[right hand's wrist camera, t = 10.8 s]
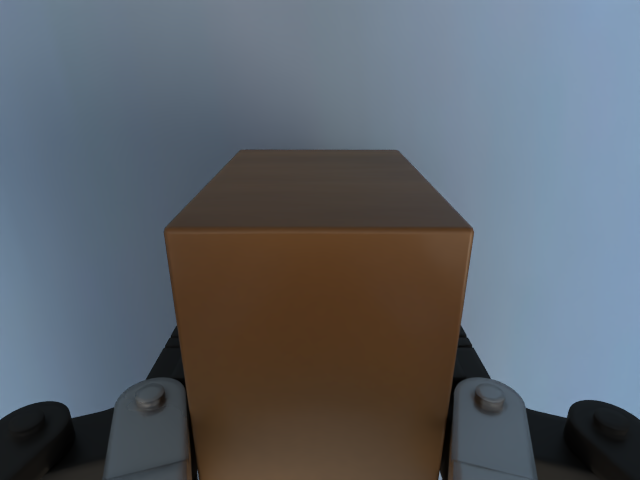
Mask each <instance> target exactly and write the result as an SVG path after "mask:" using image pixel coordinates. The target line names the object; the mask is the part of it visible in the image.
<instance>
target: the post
mask: <svg viewBox="0 0 640 480" xmlns="http://www.w3.org/2000/svg"><path fill="white" fill-rule="evenodd" d="M473 236H474V231H473V228H472V227H471V226H470V225H469V224H468V223H467V222H466V221H465V219H464V218H463V217H462V216H461V215H460V214H459V213H458V212H457V211H456V210H455V209H454V208H453V207H452V206H451V205H450V204H449V203H448V202H447V201H446V200H445V199H444V198H443V197H442V196H441V194H440V193H439V192H438V191H437V190H436V189H435V188H434V187H433V186H432V185H431V184H430V183H429V182H428V181H427V180H426V179H425V178H424V177H423V176H422V175H421V174H420V173H419V172H418V171H417V169H416V168H415V167H414V166H413V165H412V164H411V163H410V162H409V161H408V160H407V159H406V158H405V157H404V156H403V155H402V154H401V153H400V152H399V151H398V150H240V151H239V152H238V153H237V154H236V155H235V156H234V157H233V158H232V159H231V160H230V161H229V162H228V163H227V164H226V165H225V166H224V167H223V168H222V169H221V170H220V171H219V173H218V174H217V175H216V176H215V177H214V178H213V179H212V180H211V181H210V182H209V183H208V184H207V185H206V186H205V187H204V188H203V189H202V190H201V191H200V192H199V193H198V194H197V195H196V196H195V197H194V198H193V199H192V200H191V201H190V202H189V203H188V205H187V206H186V207H185V208H184V209H183V210H182V211H181V212H180V213H179V214H178V215H177V216H176V217H175V218H174V219H173V220H172V221H171V222H170V223H169V224H168V225H167V226H166V227H165V229H164V237H165V244H166V251H167V258H168V265H169V272H170V279H171V286H172V293H173V300H174V307H175V314H176V321H177V328H178V335H179V342H180V349H181V356H182V363H183V370H184V377H185V384H186V391H187V398H188V405H189V412H190V419H191V425H192V432H193V439H194V446H195V453H196V460H197V467H198V474H199V480H438V477H439V470H440V464H441V457H442V450H443V443H444V436H445V429H446V422H447V415H448V408H449V401H450V395H451V388H452V381H453V374H454V367H455V360H456V353H457V346H458V339H459V332H460V325H461V319H462V312H463V305H464V298H465V291H466V284H467V277H468V270H469V263H470V256H471V249H472V243H473Z"/></svg>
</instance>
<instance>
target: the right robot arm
mask: <svg viewBox="0 0 640 480" xmlns="http://www.w3.org/2000/svg"><path fill="white" fill-rule="evenodd" d="M197 470H198V467H197V460H196V453H195V446H194V439H193V432H192V425H191V419H190V412H189V405H188V398H187V391H186V384H185V377H184V370H183V363H182V356H181V349H180V342H179V335H178V328H177V326H176V328H175V329H174V331H173V333H172V335H171V338H169V340H168V342H167V343H166V345H165V348H164V349H163V350H162V352H161V354H160V356H159V357H158V359H157V361H156V363H155V364H154V366H153V368H152V370H151V371H150V373H149V375H148V377H147V378H146V380H144V381H141V382H139V383H137V384H135V385H133V386H131V387H130V388H128V389H127V390H126V391H124V392H123V393H122V394H121V395H120V397H119V398H118V400H117V401H116V404H115V407H114V408H111V409H108V410H105V411H101V412H97V413H93V414H89V415H84V416H80V417H75V418H71V415H70V412H69V409H68V408H67V406H66V405H64V404H62V403H59V402H54V401H46V402H39V403H34V404H31V405H27V406H25V407H22V408H20V409H18V410H15V411H13V412H12V413H10V414H8V415H7V416H5V417H4V418H2V419H1V420H0V480H198V477H197ZM440 473H441V476H442V480H640V420H639V419H638V418H637V417H635V416H634V415H632V414H631V413H629V412H627V411H625V410H623V409H621V408H619V407H617V406H614V405H612V404H609V403H605V402H601V401H595V400H583V401H578V402H576V403H574V404H572V406H571V407H570V409H569V412H568V416H567V418H564V417H560V416H555V415H551V414H547V413H542V412H538V411H534V410H530V409H528V408H526V407H525V404H524V401H523V400H522V398H521V397H520V395H519V394H518V393H517V392H516V391H514V390H513V389H512V388H510V387H509V386H507V385H505V384H503V383H501V382H499V381H496V380H492V379H491V378H490V376H489V374H488V373H487V371H486V369H485V367H484V366H483V364H482V362H481V360H480V358H479V357H478V355H477V353H476V351H475V350H474V348H472V344H471V342H470V341H469V339H468V338H467V337H466V334H465V332H464V330H463V328H462V327H461V325H460V332H459V339H458V346H457V353H456V360H455V367H454V374H453V381H452V388H451V395H450V401H449V408H448V415H447V422H446V429H445V436H444V443H443V450H442V457H441V464H440Z"/></svg>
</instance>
